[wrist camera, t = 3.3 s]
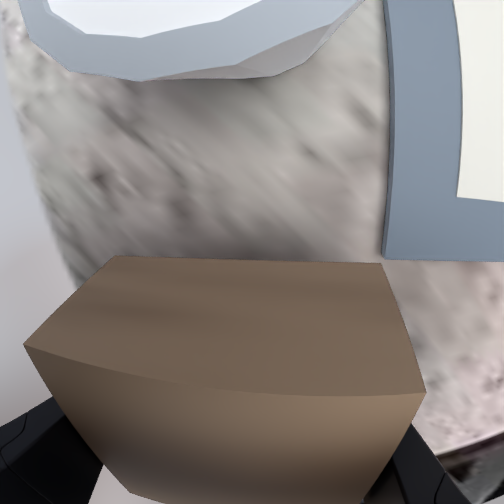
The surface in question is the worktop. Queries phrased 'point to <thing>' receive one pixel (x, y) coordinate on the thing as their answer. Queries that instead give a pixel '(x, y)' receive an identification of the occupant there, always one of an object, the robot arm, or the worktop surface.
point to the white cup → (182, 35)
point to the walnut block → (234, 377)
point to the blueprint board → (445, 130)
